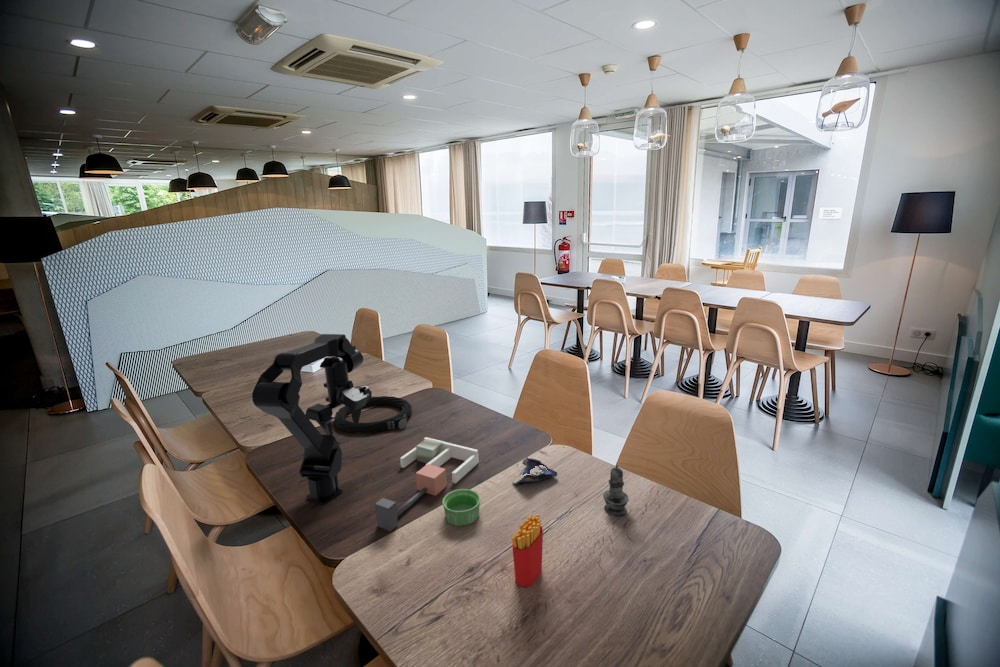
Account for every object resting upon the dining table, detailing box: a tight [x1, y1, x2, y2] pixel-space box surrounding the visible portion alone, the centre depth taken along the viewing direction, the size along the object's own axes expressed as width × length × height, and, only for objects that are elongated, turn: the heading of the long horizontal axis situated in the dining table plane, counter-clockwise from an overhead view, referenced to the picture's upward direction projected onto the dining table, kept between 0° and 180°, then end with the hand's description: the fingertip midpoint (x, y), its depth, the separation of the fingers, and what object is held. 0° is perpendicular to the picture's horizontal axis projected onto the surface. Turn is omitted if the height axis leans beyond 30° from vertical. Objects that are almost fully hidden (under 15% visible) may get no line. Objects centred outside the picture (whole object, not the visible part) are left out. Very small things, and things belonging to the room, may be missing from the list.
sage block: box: [415, 439, 443, 464], centre depth 133 cm, size 5×6×5 cm
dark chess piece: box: [603, 464, 629, 518], centre depth 106 cm, size 6×6×12 cm
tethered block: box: [374, 463, 448, 532], centre depth 111 cm, size 21×6×6 cm, turn 151°
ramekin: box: [442, 488, 481, 527], centre depth 107 cm, size 9×9×4 cm
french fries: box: [511, 513, 544, 588], centre depth 87 cm, size 8×4×12 cm, turn 145°
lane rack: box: [399, 436, 480, 484], centre depth 129 cm, size 12×19×4 cm, turn 61°
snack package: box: [512, 457, 558, 485], centre depth 122 cm, size 12×6×12 cm
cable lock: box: [333, 395, 413, 434], centre depth 162 cm, size 28×4×30 cm
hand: (343, 431), depth 126 cm, fingers open, 9 cm apart
